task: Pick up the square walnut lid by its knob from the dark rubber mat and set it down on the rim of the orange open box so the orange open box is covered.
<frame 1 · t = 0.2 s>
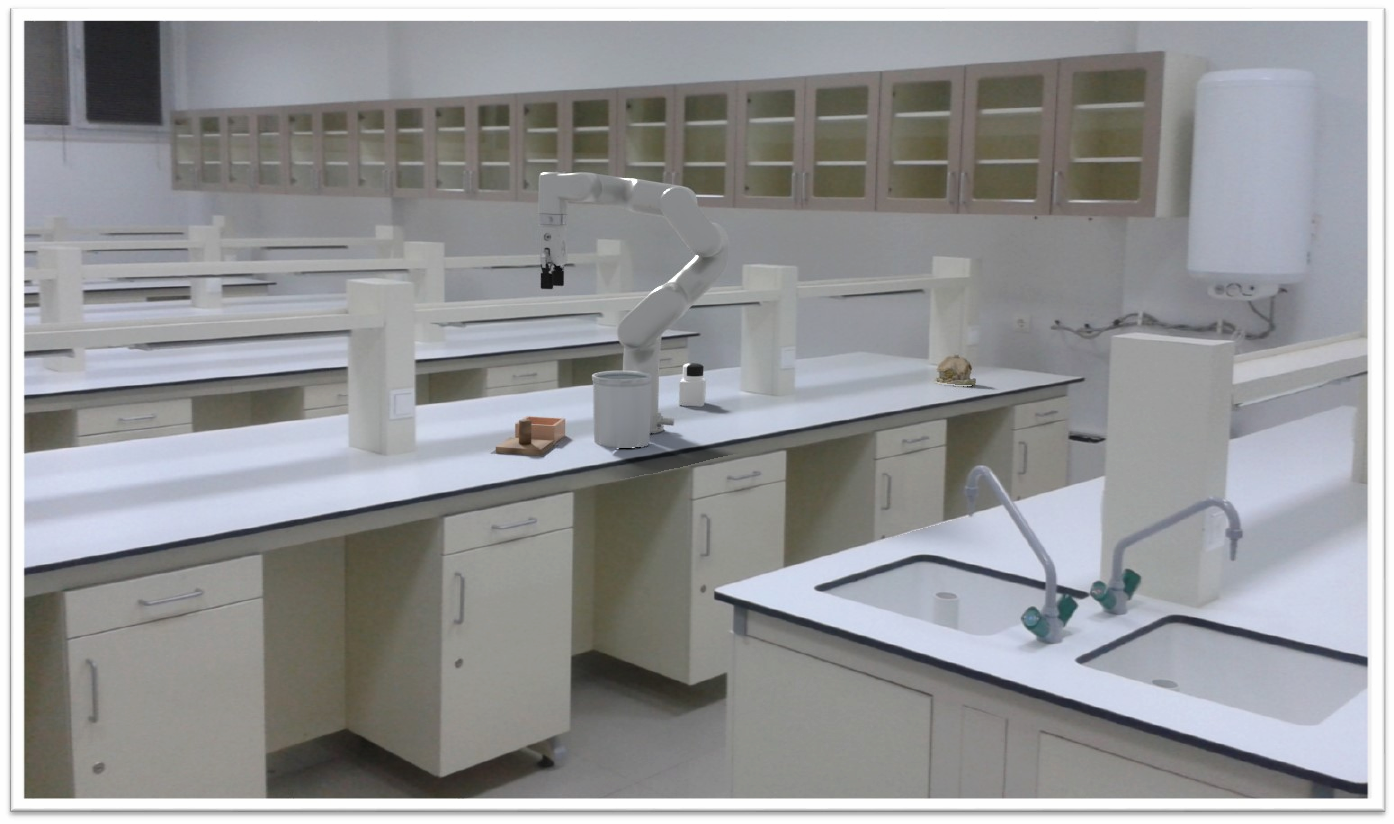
hand: (552, 287, 328), 36 cm above the lab bench, tool pointing down, fingers open, 9 cm apart
lid: (525, 449, 303), point 1 cm above the lab bench, touching mat
orange open box: (540, 440, 315), on the lab bench
medicine bottle: (692, 404, 371), on the lab bench
ceramic model: (954, 384, 422), on the lab bench
utensil holder: (620, 444, 315), on the lab bench
mat: (525, 451, 303), on the lab bench
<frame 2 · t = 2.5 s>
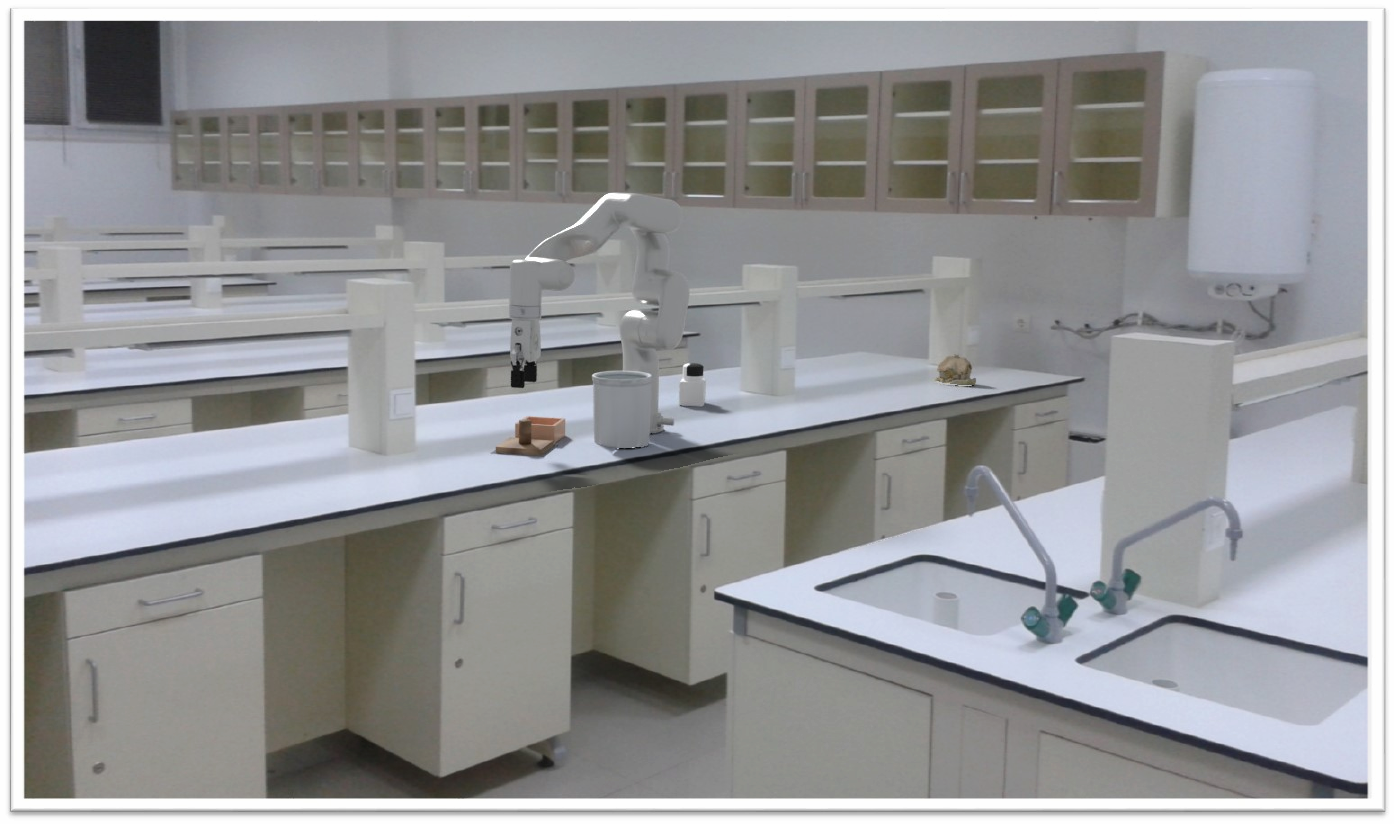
hand: (523, 384, 299), 16 cm above the lab bench, tool pointing down, fingers open, 9 cm apart
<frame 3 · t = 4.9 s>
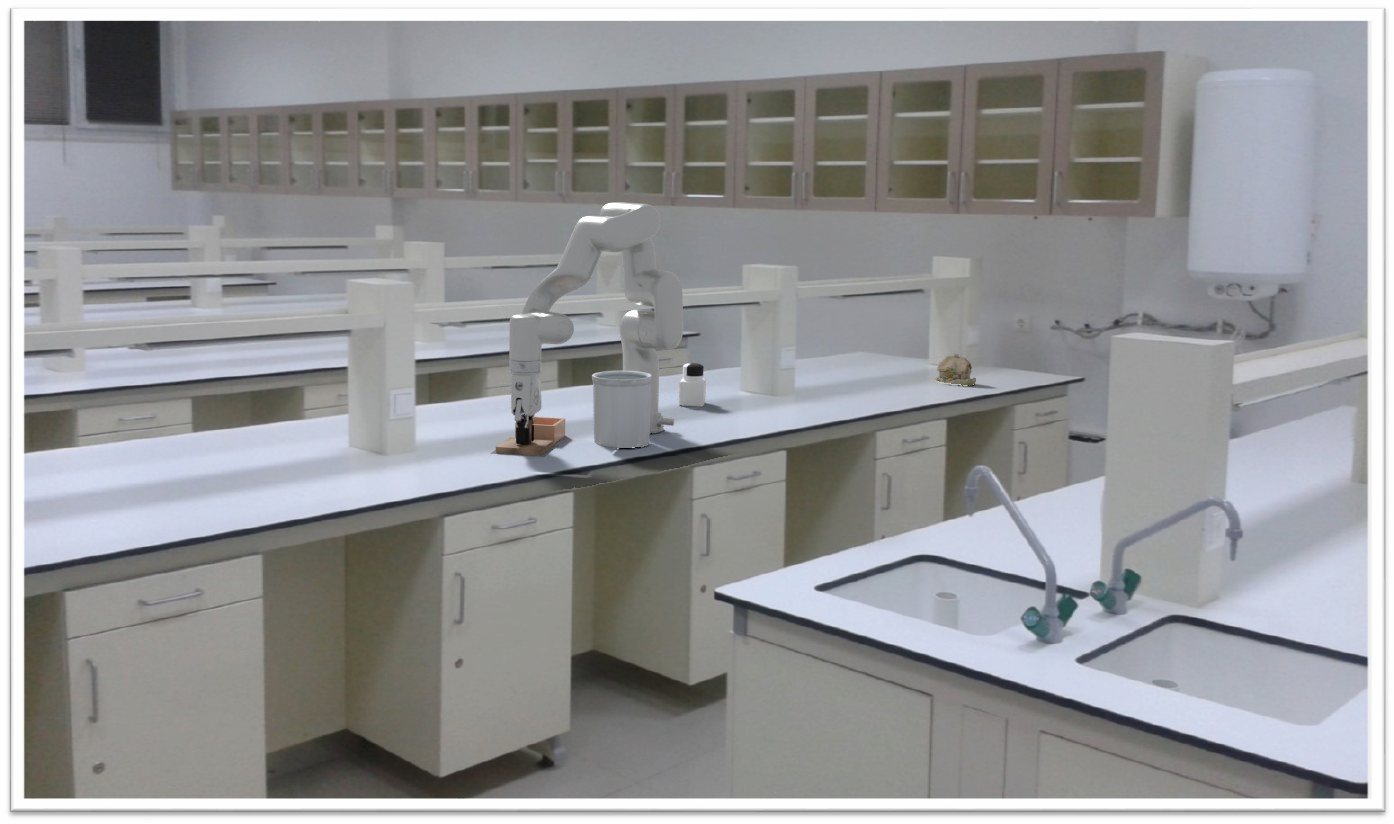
hand: (525, 441, 302), 2 cm above the lab bench, tool pointing down, fingers closed on lid, 3 cm apart
lid: (525, 449, 303), point 1 cm above the lab bench, touching gripper, mat
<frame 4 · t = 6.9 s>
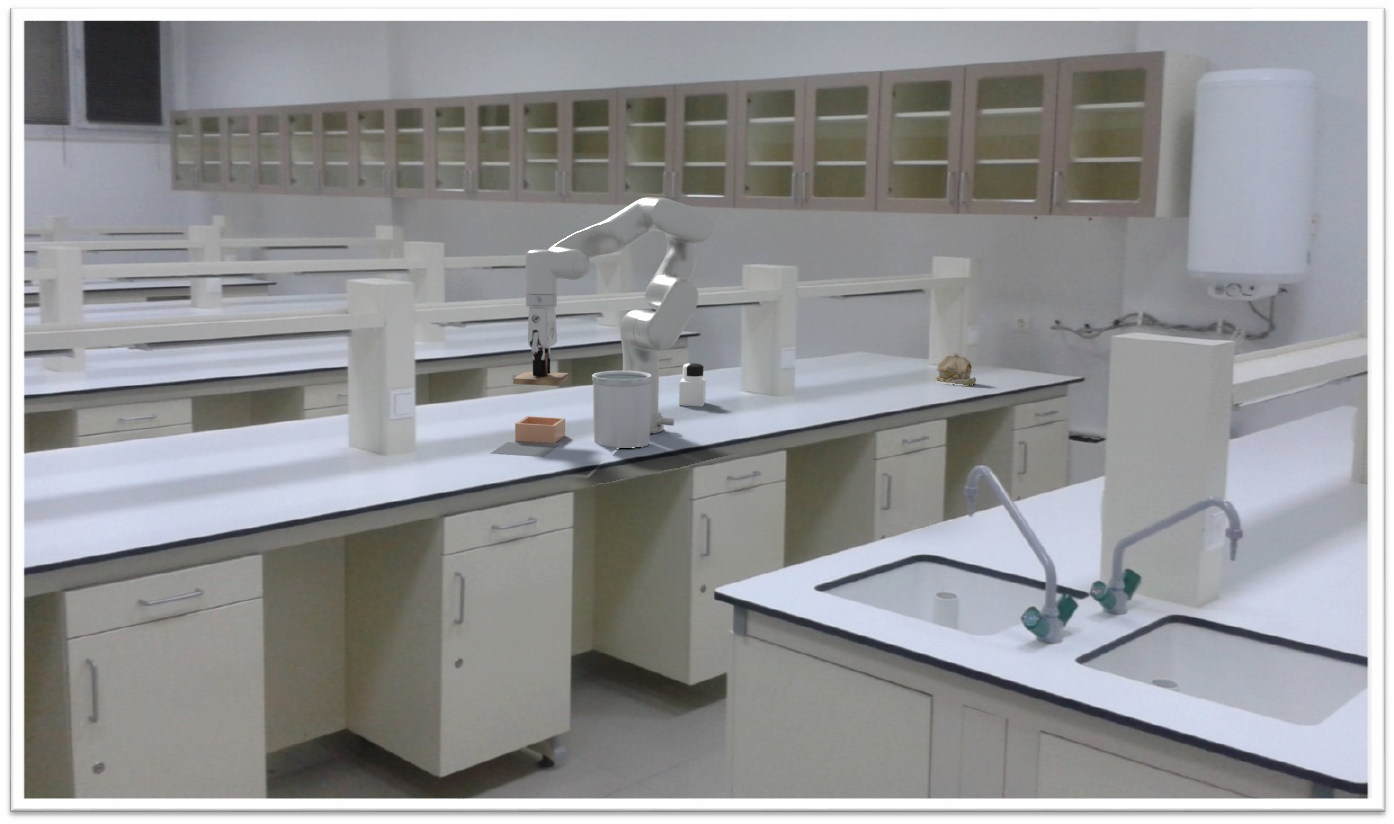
hand: (541, 374, 312), 17 cm above the lab bench, tool pointing down, fingers closed on lid, 3 cm apart
lid: (541, 381, 313), point 15 cm above the lab bench, touching gripper
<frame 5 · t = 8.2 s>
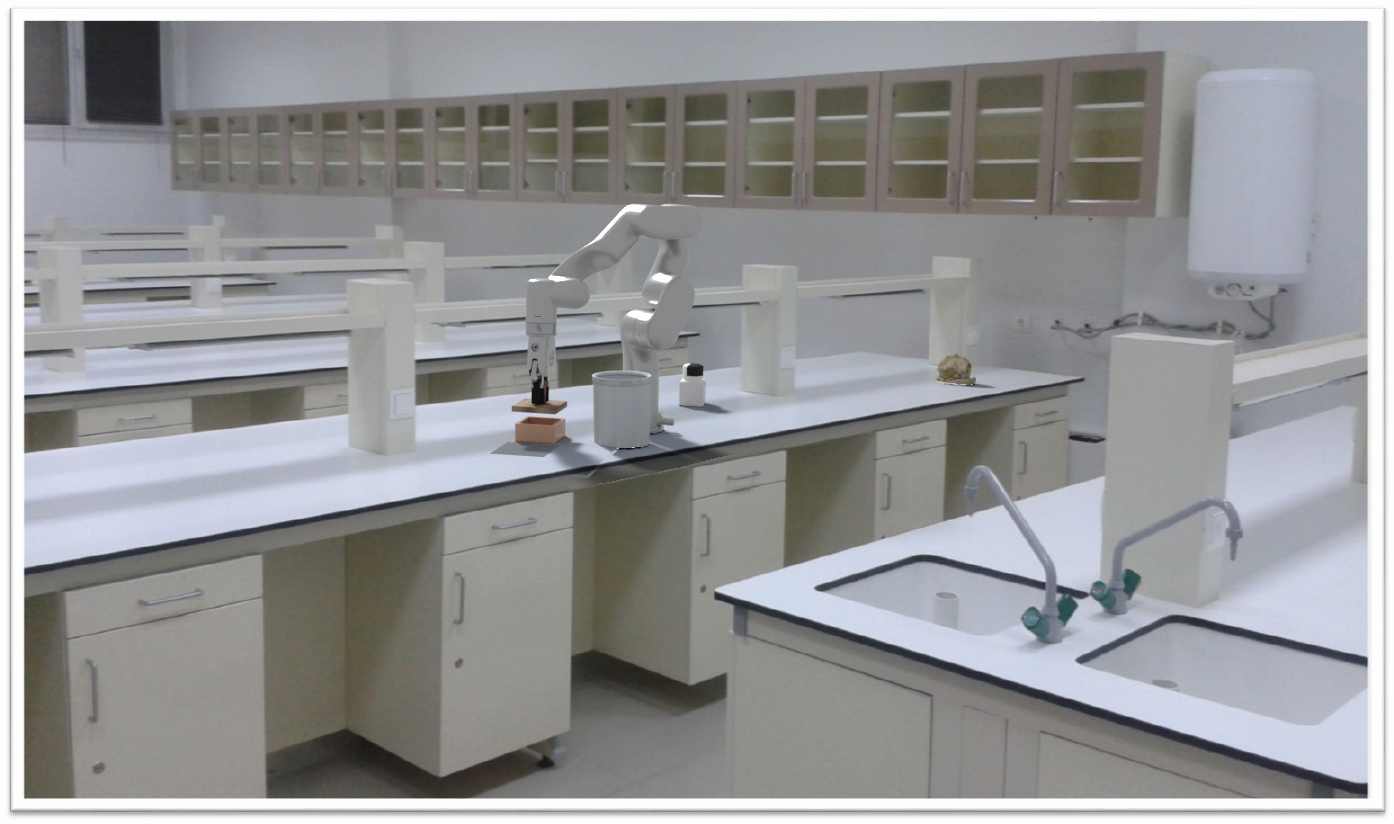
hand: (540, 402, 314), 10 cm above the lab bench, tool pointing down, fingers closed on lid, 3 cm apart
lid: (539, 409, 314), point 8 cm above the lab bench, touching gripper
when the fingers open (8 cm above the lab bench, at t = 9.1 s): lid drops 1 cm, resting on orange open box.
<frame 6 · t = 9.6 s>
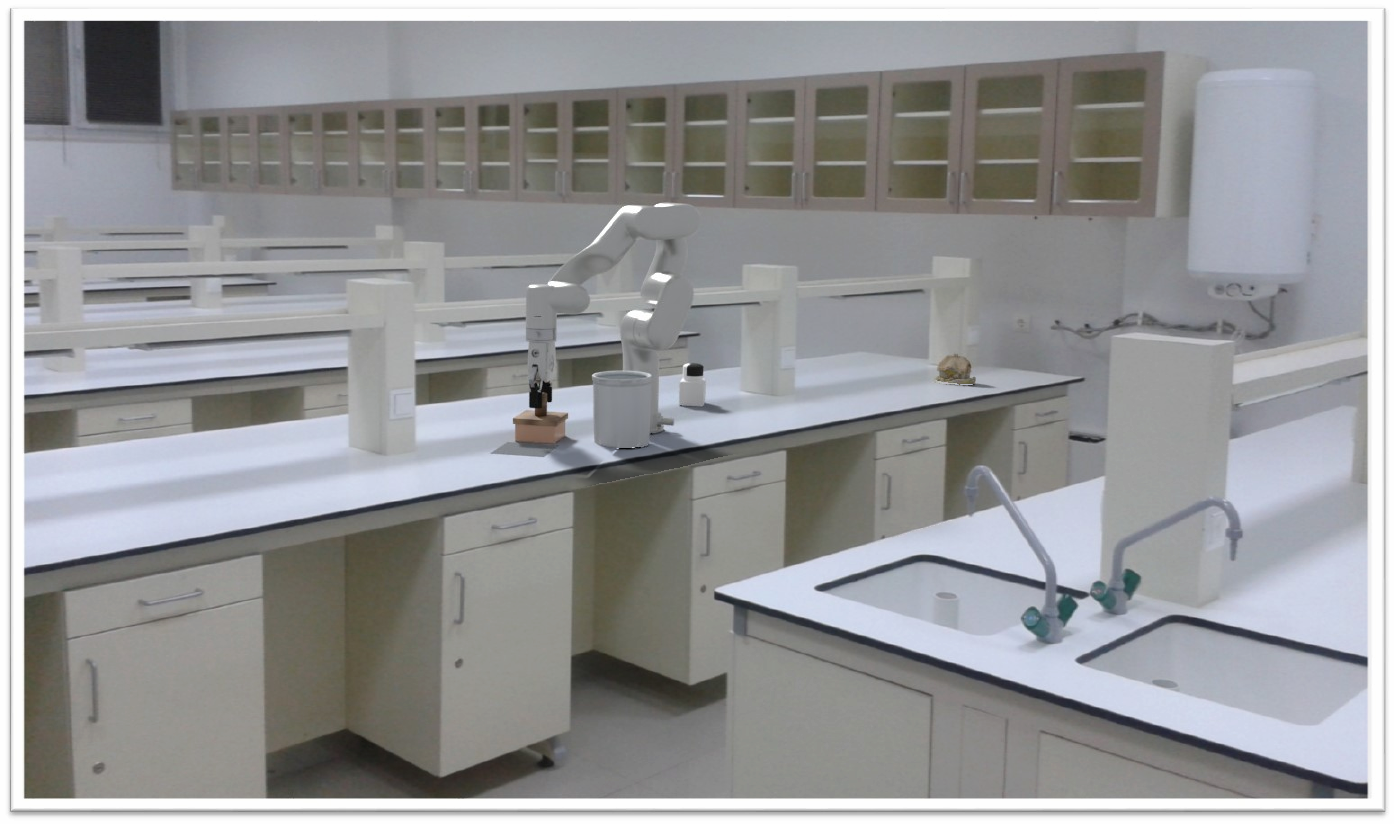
hand: (540, 404, 314), 9 cm above the lab bench, tool pointing down, fingers open, 8 cm apart
lid: (540, 420, 315), point 5 cm above the lab bench, touching orange open box
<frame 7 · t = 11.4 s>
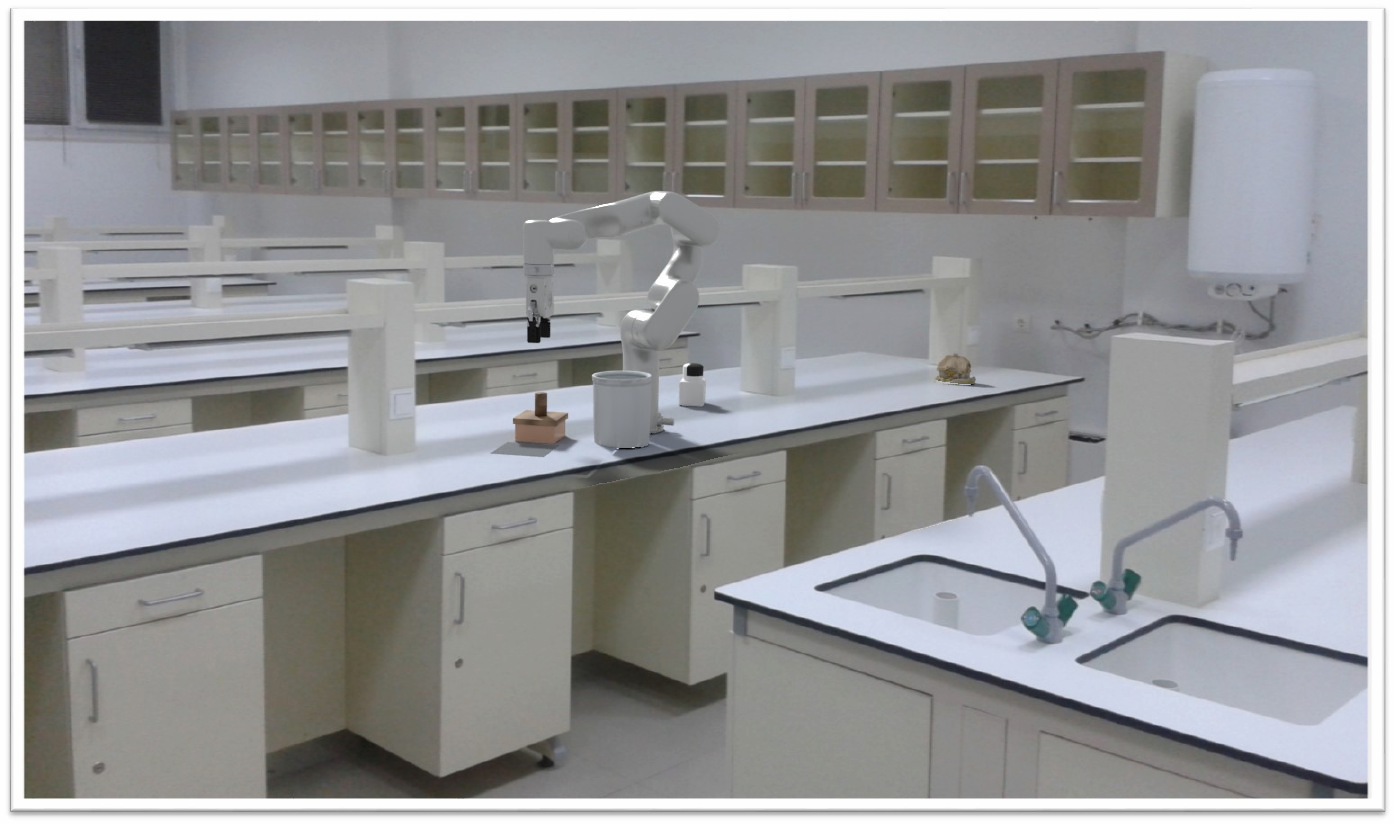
hand: (539, 340, 313), 25 cm above the lab bench, tool pointing down, fingers open, 9 cm apart
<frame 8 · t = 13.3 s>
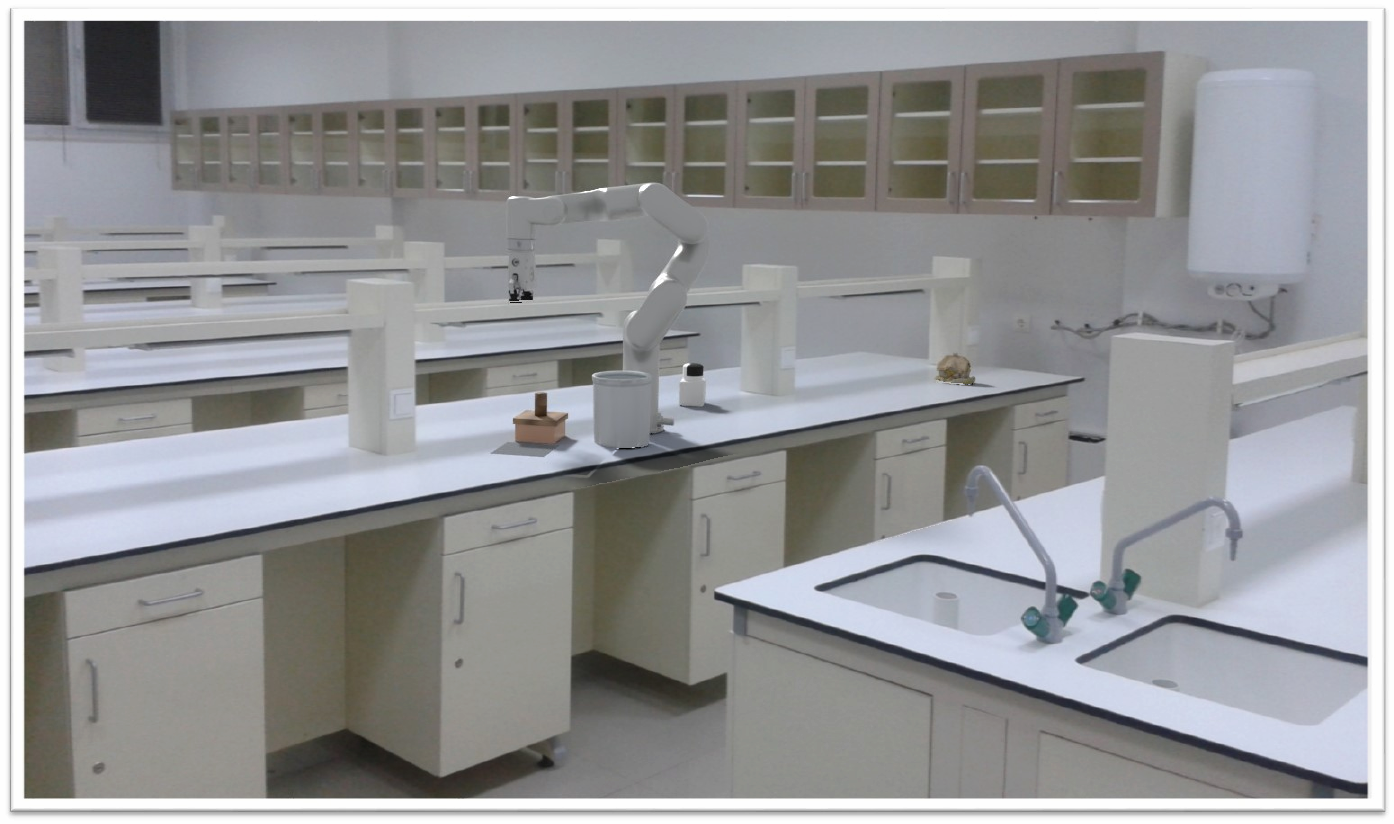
hand: (521, 312, 323), 30 cm above the lab bench, tool pointing down, fingers open, 9 cm apart
at the end: lid 0.1 cm off-centre on the orange open box, point 5.0 cm above the orange open box's base; lid tilted 0°; the gripper is holding nothing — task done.
